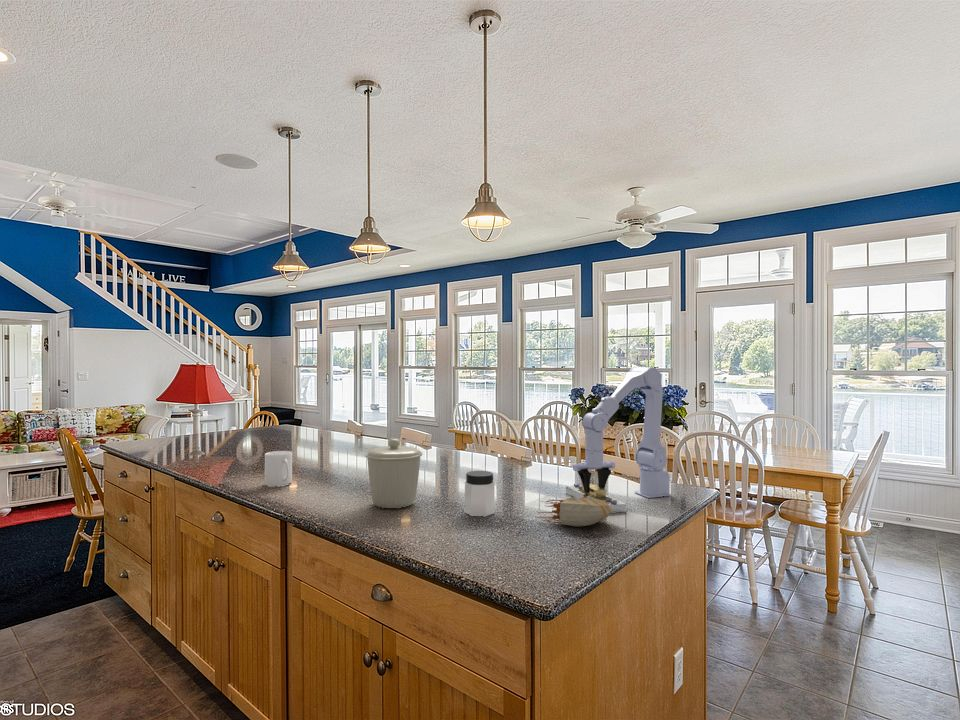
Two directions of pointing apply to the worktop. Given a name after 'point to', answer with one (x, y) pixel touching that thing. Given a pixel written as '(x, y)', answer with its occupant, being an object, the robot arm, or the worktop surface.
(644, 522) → the worktop surface
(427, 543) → the worktop surface
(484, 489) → the jar
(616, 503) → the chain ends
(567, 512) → the nautilus
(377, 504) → the canister
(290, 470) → the mug
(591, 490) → the tan wooden block
